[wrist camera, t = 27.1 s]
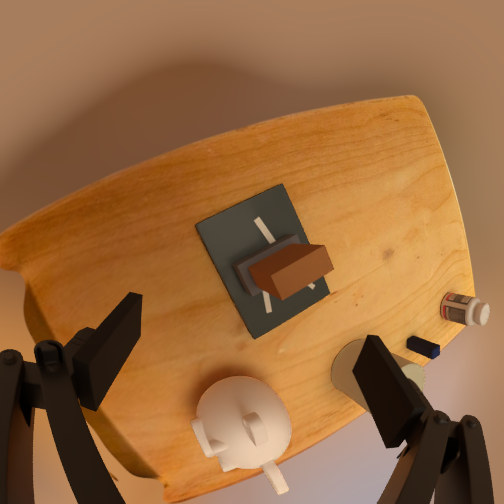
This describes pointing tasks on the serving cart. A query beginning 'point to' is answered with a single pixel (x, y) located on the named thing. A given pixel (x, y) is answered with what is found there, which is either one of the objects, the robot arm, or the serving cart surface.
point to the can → (347, 381)
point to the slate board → (249, 241)
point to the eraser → (423, 347)
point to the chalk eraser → (283, 267)
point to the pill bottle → (464, 309)
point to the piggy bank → (244, 426)
